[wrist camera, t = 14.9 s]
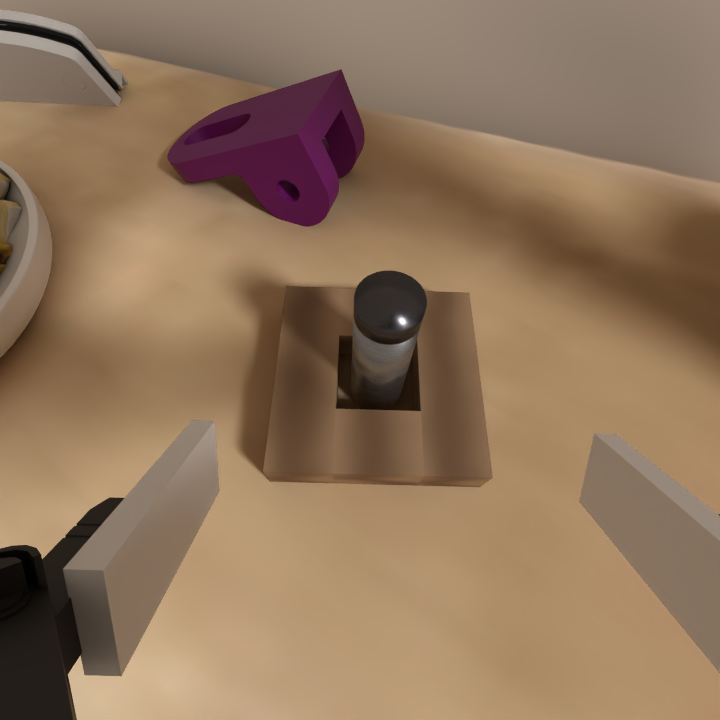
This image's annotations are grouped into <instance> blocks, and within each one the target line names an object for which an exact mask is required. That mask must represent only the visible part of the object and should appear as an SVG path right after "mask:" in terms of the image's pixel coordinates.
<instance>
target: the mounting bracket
mask: <svg viewBox="0 0 720 720" xmlns="http://www.w3.org/2000/svg"><path fill="white" fill-rule="evenodd" d="M324 137H325V139H324ZM363 145H364V129H363V125H362V122H361V119H360V116H359V114H358V111H357V109H356V106H355V104H354V101H353V99H352V96H351V94H350V91H349V88H348V86H347V83H346V80H345V78H344V75H343V73H342V70H338V71H335V72H332V73H329V74H325V75H322V76H319V77H316V78H313V79H310V80H307V81H304V82H301V83H298V84H294V85H291V86H288V87H285V88H282V89H279V90H276V91H273V92H269V93H266V94H263V95H260V96H257V97H254V98H251V99H248V100H245V101H241V102H238V103H235V104H232V105H229V106H226V107H224V108H222V109H220V110H218V111H216V112H214V113H212V114H210V115H208V116H207V117H205V118H204V119H202V120H201V121H199V122H198V123H196V124H195V125H194V126H192V127H191V128H190V129H189V130H187V131H186V132H185V133H184V134H183V135H182V136H181V137H180V138H179V139H178V140H177V141H176V142H175V143H174V145H173V146H172V148H171V149H170V151H169V153H168V161H169V162H170V163H171V164H172V166H173V167H174V168H175V169H176V171H177V172H178V173H179V175H180V176H181V177H182V178H183V180H184V181H186V182H199V181H204V180H209V179H213V178H218V177H223V176H228V175H233V174H236V175H239V176H240V177H242V178H243V179H244V181H245V182H246V183H247V185H248V186H249V188H250V189H251V191H252V192H253V194H254V195H255V197H256V198H257V200H258V201H259V202H260V203H261V204H262V205H263V207H264V208H266V209H267V210H268V211H269V212H270V213H271V214H273V215H274V216H276V217H277V218H279V219H281V220H284V221H288V222H291V223H294V224H298V225H301V226H312V225H316V224H318V223H320V222H321V221H322V220H323V219H324V218H325V217H326V216H327V214H328V212H329V210H330V208H331V206H332V204H333V203H334V201H335V199H336V197H337V194H338V191H339V180H338V178H341V177H343V176H345V175H346V174H348V173H349V172H350V170H351V169H352V168H353V166H354V164H355V162H356V160H357V158H358V156H359V155H360V153H361V151H362V148H363Z"/></svg>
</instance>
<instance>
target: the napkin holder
mask: <svg viewBox="0 0 720 720" xmlns="http://www.w3.org/2000/svg"><path fill="white" fill-rule="evenodd" d="M122 84H128V81H127V79H126V78H125V76H124V75H123V73H122V72H121V71H120V70H115V69H113V68H112V67H111V66H110V65H109V64H108V62H107V61H106V60H105V59H104V57H103V56H102V55H101V54H100V53H99V51H98V50H97V49H96V48H95V47H94V46H93V44H92V43H91V42H90V41H89V39H88V38H87V37H86V36H85V35H84V33H82V32H81V31H80V30H79V29H78V28H76V27H74V26H72V25H69V24H65V23H63V22H59V21H56V20H53V19H49V18H45V17H41V16H37V15H32V14H27V13H21V12H15V11H7V10H0V101H10V102H32V103H54V104H75V105H97V106H118V105H119V104H120V101H121V98H120V96H119V95H118V93H117V92H116V91H115V90H119V89H123V86H122Z"/></svg>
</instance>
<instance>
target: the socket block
mask: <svg viewBox="0 0 720 720" xmlns="http://www.w3.org/2000/svg"><path fill="white" fill-rule="evenodd" d="M355 291H356V289H351V288H324V287H296V286H286V292H285V300H284V308H283V316H282V324H281V332H280V340H279V348H278V356H277V364H276V372H275V380H274V388H273V396H272V404H271V412H270V420H269V428H268V436H267V444H266V452H265V459H264V467H263V472H264V474H265V475H266V476H267V478H268V479H269V481H272V482H310V483H348V484H386V485H423V486H461V487H480V486H482V485H483V484H485V483H486V482H487V481H489V480H490V479H492V478H493V477H492V469H491V461H490V453H489V445H488V437H487V429H486V421H485V413H484V405H483V398H482V390H481V382H480V374H479V366H478V358H477V350H476V342H475V334H474V326H473V318H472V311H471V303H470V295H469V293H462V292H434V291H425V294H426V297H427V307H426V311H425V314H424V318H423V321H422V324H421V328H420V331H419V334H418V338H417V341H416V344H415V348H414V351H413V354H412V376H413V399H414V411H399V410H365V409H337V398H338V376H339V355H340V354H352V341H353V313H354V294H355Z"/></svg>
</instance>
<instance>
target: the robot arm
mask: <svg viewBox="0 0 720 720" xmlns="http://www.w3.org/2000/svg"><path fill="white" fill-rule="evenodd" d="M218 493H219V476H218V461H217V447H216V432H215V421H200V420H192V421H191V422H190V423H189V425H188V426H187V427H186V428H185V429H184V430H183V431H182V433H181V434H180V435H179V436H178V437H177V438H176V440H175V441H174V442H173V443H172V444H171V445H170V446H169V448H168V449H167V450H166V451H165V452H164V453H163V454H162V456H161V457H160V458H159V459H158V460H157V461H156V463H155V464H154V465H153V466H152V467H151V468H150V469H149V471H148V472H147V473H146V474H145V475H144V476H143V477H142V479H141V480H140V481H139V482H138V483H137V484H136V486H135V487H134V488H133V489H132V490H131V491H130V492H129V494H128V495H127V496H126V497H125V498H108V499H106V500H105V501H103V502H102V503H100V504H98V505H97V506H95V507H93V508H92V509H90V510H89V511H88V512H87V513H86V514H85V516H84V517H83V518H82V519H81V520H80V521H79V522H78V523H77V526H74V527H73V528H72V529H71V530H70V531H69V532H68V533H67V534H66V537H65V538H63V539H62V540H61V541H60V542H59V543H58V544H57V545H56V546H55V547H54V548H53V549H52V550H51V551H50V552H49V553H48V554H47V555H46V556H45V557H44V558H43V559H42V558H41V554H40V552H39V551H38V550H37V548H35V547H31V546H28V545H18V546H9V547H5V548H2V549H0V720H77V719H76V714H75V709H74V703H73V698H72V693H71V688H70V683H69V679H68V673H69V672H70V670H71V669H72V667H73V665H74V664H75V662H76V661H77V659H78V658H79V656H80V655H81V659H82V664H83V669H84V674H85V675H101V676H122V674H123V672H124V670H125V668H126V666H127V664H128V663H129V661H130V659H131V657H132V655H133V653H134V651H135V649H136V647H137V646H138V644H139V642H140V640H141V638H142V636H143V634H144V632H145V630H146V629H147V627H148V625H149V623H150V621H151V619H152V617H153V615H154V613H155V612H156V610H157V608H158V606H159V604H160V602H161V600H162V598H163V596H164V595H165V593H166V591H167V589H168V587H169V585H170V583H171V581H172V579H173V578H174V576H175V574H176V572H177V570H178V568H179V566H180V564H181V562H182V561H183V559H184V557H185V555H186V553H187V551H188V549H189V547H190V545H191V544H192V542H193V540H194V538H195V536H196V534H197V532H198V530H199V528H200V527H201V525H202V523H203V521H204V519H205V517H206V515H207V513H208V511H209V510H210V508H211V506H212V504H213V502H214V500H215V498H216V496H217V494H218ZM579 502H580V503H581V504H582V505H583V507H584V508H585V509H586V510H587V512H588V513H589V514H590V515H591V516H592V518H593V519H594V520H595V521H596V523H597V524H598V525H599V526H600V527H601V529H602V530H603V531H604V532H605V534H606V535H607V536H608V537H609V538H610V540H611V541H612V542H613V543H614V545H615V546H616V547H617V548H618V549H619V551H620V552H621V553H622V554H623V556H624V557H625V558H626V559H627V560H628V562H629V563H630V564H631V565H632V567H633V568H634V569H635V570H636V571H637V573H638V574H639V575H640V576H641V578H642V579H643V580H644V581H645V582H646V584H647V585H648V586H649V587H650V589H651V590H652V591H653V592H654V593H655V595H656V596H657V597H658V598H659V599H660V601H661V602H662V603H663V604H664V606H665V607H666V608H667V609H668V610H669V612H670V613H671V614H672V615H673V617H674V618H675V619H676V620H677V621H678V623H679V624H680V625H681V626H682V628H683V629H684V630H685V631H686V632H687V634H688V635H689V636H690V637H691V639H692V640H693V641H694V642H695V643H696V645H697V646H698V647H699V648H700V650H701V651H702V652H703V653H704V654H705V656H706V657H707V658H708V659H709V661H710V662H711V663H712V664H713V665H714V667H715V668H716V669H717V670H718V672H719V673H720V514H717V513H716V512H714V511H713V510H712V509H711V508H709V507H708V506H707V505H706V504H704V503H703V502H702V501H700V500H699V499H698V498H697V497H695V496H694V495H693V494H692V493H690V492H689V491H688V490H686V489H685V488H684V487H683V486H681V485H680V484H679V483H678V482H676V481H675V480H674V479H673V478H671V477H670V476H669V475H667V474H666V473H665V472H664V471H662V470H661V469H660V468H659V467H657V466H656V465H655V464H653V463H652V462H651V461H650V460H648V459H647V458H646V457H645V456H643V455H642V454H641V453H639V452H638V451H637V450H636V449H634V448H633V447H632V446H631V445H629V444H628V443H627V442H626V441H624V440H623V439H622V438H620V437H619V436H618V435H617V434H598V433H594V437H593V442H592V446H591V451H590V455H589V460H588V464H587V469H586V473H585V478H584V482H583V487H582V491H581V495H580V500H579Z"/></svg>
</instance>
